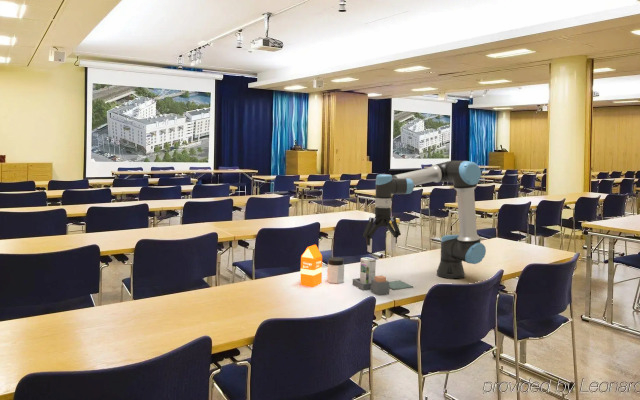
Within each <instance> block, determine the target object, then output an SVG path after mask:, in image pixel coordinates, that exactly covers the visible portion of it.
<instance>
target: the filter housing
mask: <svg viewBox="0 0 640 400" xmlns="http://www.w3.org/2000/svg"><path fill="white" fill-rule="evenodd" d="M389 282H390V280H389V281H388V280H386V282H377V281H375V279H374V280H372V281H371V283H367V284H364V283H362V282H360V277H358V278H352V285H353V286H354V287H356V288H358V289H360V290H361V291H370V292H371V293H373V294H375V295H376V296H382V295H383V296H384V295H389V294H390V288H389Z"/></svg>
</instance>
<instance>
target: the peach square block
mask: <svg viewBox="0 0 640 400" xmlns="http://www.w3.org/2000/svg"><path fill="white" fill-rule="evenodd" d="M375 281H377V282H386V281H387V277H386V276H384V275H375Z"/></svg>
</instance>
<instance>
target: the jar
mask: <svg viewBox="0 0 640 400" xmlns="http://www.w3.org/2000/svg"><path fill="white" fill-rule="evenodd" d="M344 260H345V259H344V258H342V257H335V256H334V257H329V258H328V260H327V269H326V270H327V271H326V272H327V275H326V278H327V279H326V280H327V282H328V283H329V284H335V283H338V284H341V283H340V282H343V283H344V282H345V280H344V279H345V264H344V262H345V261H344Z"/></svg>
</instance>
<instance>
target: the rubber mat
mask: <svg viewBox="0 0 640 400" xmlns="http://www.w3.org/2000/svg"><path fill="white" fill-rule="evenodd" d="M411 288H414V285H412V284H409V283H407V282H404V281H402V280H401V279H400V280H399V279H398V280H391V281H390V280H389V290H393V291H395V290H404V289H405V290H406V289H411Z"/></svg>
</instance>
